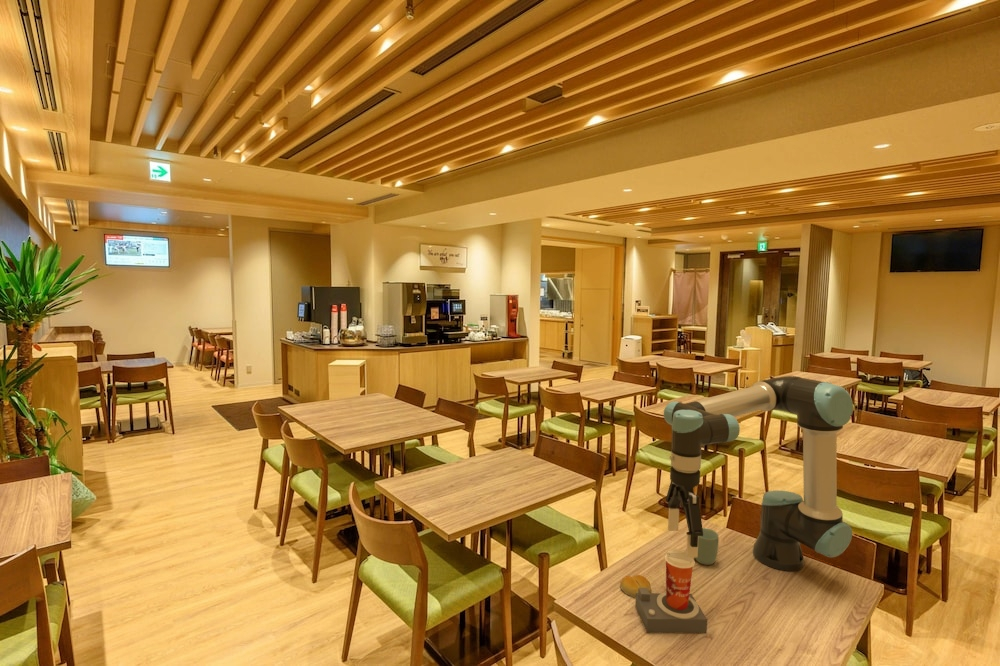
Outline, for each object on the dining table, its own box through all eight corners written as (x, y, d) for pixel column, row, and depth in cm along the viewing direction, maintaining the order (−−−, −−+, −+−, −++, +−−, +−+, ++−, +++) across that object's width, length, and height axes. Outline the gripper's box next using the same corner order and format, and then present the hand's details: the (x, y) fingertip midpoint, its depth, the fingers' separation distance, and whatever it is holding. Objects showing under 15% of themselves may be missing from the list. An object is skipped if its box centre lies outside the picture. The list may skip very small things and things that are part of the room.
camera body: (690, 606, 144) (691, 587, 143) (706, 633, 133) (707, 612, 132) (635, 606, 144) (636, 586, 143) (647, 632, 133) (648, 611, 132)
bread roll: (616, 583, 155) (616, 571, 154) (643, 581, 156) (643, 569, 156) (627, 600, 147) (628, 587, 146) (655, 597, 148) (656, 585, 148)
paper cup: (664, 610, 135) (667, 561, 133) (660, 593, 142) (663, 546, 141) (695, 614, 134) (698, 565, 132) (689, 596, 141) (691, 549, 140)
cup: (712, 555, 171) (714, 528, 170) (720, 568, 163) (722, 539, 162) (689, 554, 172) (690, 526, 171) (695, 567, 164) (697, 538, 163)
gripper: (656, 452, 146) (653, 520, 149) (689, 487, 121) (685, 569, 124) (681, 451, 146) (678, 520, 149) (720, 487, 122) (715, 569, 124)
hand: (682, 542), depth 136 cm, fingers open, 13 cm apart
